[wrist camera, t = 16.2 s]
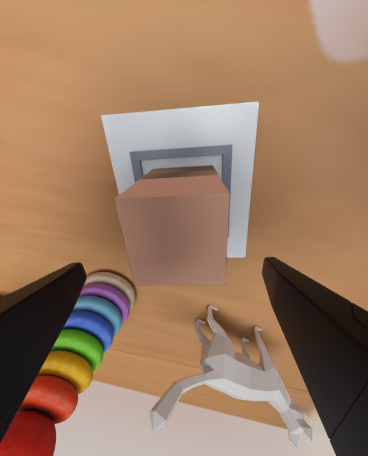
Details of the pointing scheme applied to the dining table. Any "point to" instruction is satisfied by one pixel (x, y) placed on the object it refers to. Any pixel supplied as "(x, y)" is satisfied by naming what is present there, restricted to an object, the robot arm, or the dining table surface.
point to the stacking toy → (70, 365)
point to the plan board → (190, 151)
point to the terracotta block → (176, 230)
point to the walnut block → (180, 172)
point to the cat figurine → (234, 379)
